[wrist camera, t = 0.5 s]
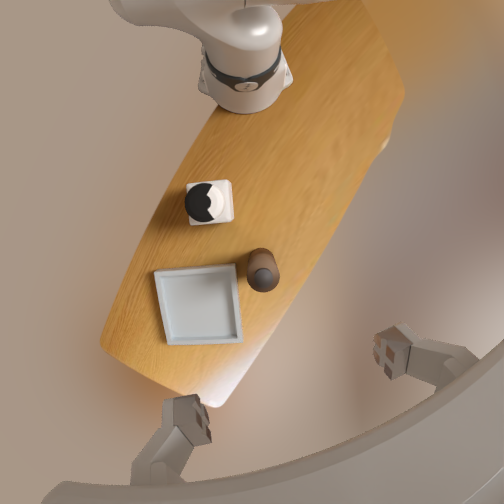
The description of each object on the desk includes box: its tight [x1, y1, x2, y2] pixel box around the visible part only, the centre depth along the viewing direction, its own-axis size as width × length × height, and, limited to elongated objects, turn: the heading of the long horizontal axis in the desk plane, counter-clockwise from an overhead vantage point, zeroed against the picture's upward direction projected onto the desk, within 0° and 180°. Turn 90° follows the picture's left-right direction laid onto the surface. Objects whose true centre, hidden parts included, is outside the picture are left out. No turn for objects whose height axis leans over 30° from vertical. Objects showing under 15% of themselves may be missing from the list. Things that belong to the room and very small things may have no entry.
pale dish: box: [154, 263, 244, 345], centre depth 56 cm, size 16×16×2 cm
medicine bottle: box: [185, 180, 234, 225], centre depth 47 cm, size 7×7×12 cm
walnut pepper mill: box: [247, 248, 280, 292], centre depth 49 cm, size 5×5×14 cm
